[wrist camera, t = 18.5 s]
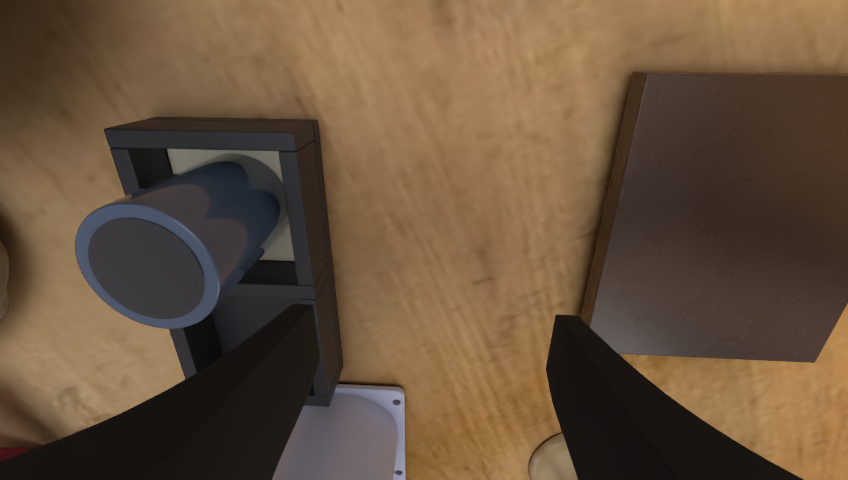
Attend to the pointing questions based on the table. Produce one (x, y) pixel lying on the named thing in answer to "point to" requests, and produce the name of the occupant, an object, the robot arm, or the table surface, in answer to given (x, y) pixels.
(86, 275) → the tumbler
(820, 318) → the shelf
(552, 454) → the hand bell
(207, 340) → the rack
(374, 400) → the robot arm
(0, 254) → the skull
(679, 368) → the table surface
